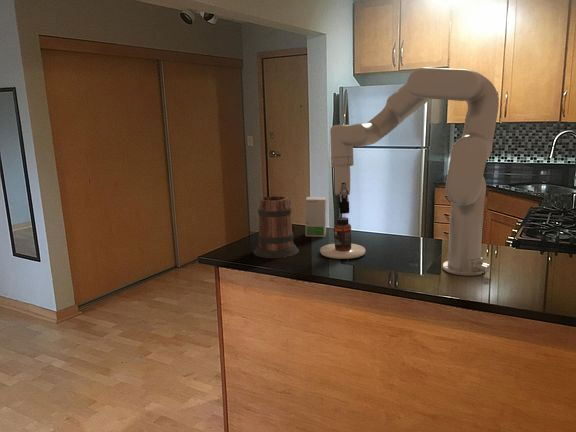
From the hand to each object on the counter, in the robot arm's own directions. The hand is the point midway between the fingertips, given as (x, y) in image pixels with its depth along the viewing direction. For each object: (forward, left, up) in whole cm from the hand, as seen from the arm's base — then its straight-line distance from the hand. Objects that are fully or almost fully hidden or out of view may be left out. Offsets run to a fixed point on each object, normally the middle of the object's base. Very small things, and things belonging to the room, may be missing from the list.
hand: (344, 210), depth 165 cm
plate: (+1, 0, -16) cm, 16 cm away
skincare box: (+28, -7, -16) cm, 33 cm away
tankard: (+20, +15, -16) cm, 30 cm away
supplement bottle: (0, 0, -14) cm, 14 cm away
